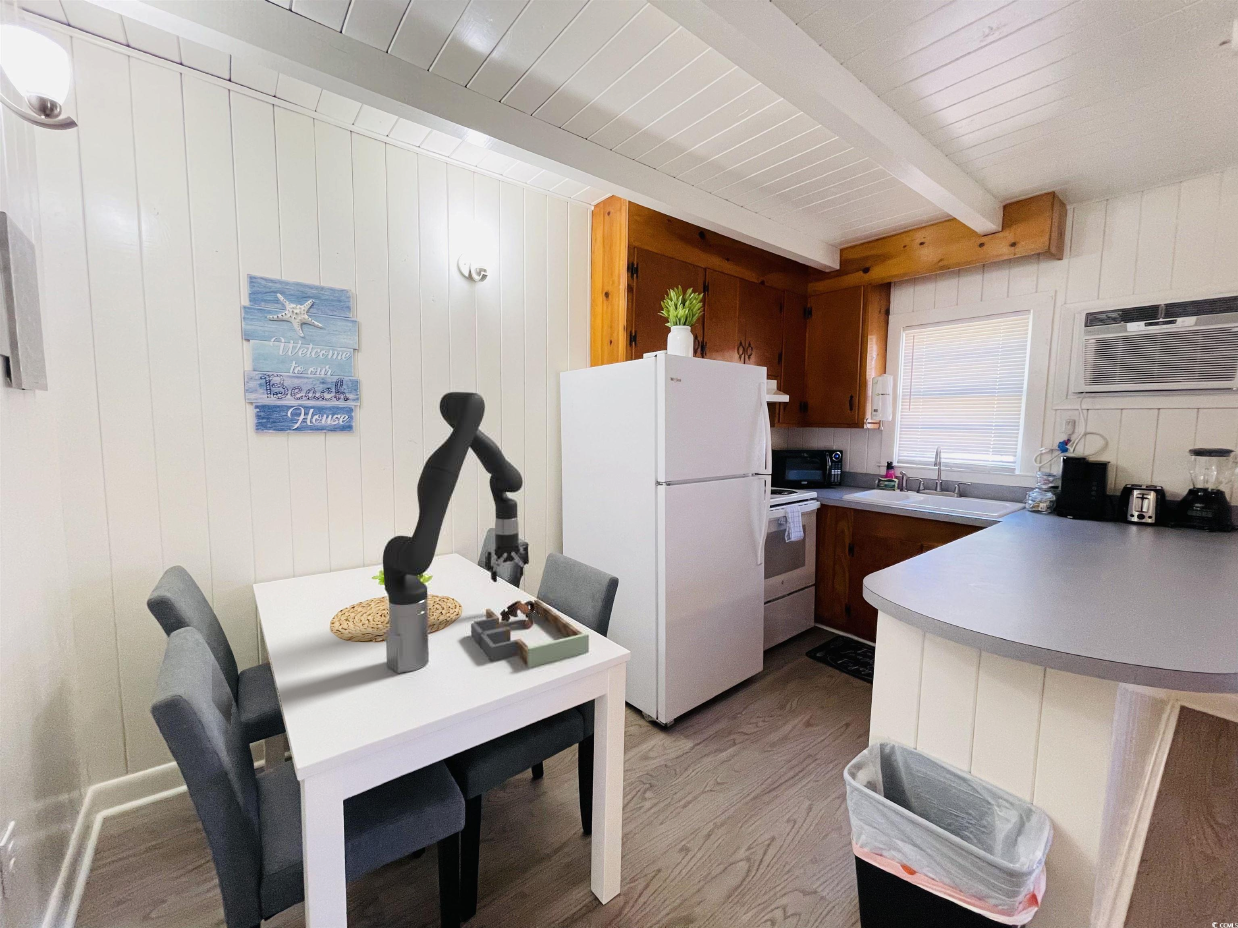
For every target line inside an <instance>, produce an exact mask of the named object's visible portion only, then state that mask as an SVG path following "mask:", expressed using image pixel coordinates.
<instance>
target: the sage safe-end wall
mask: <svg viewBox="0 0 1238 928" xmlns="http://www.w3.org/2000/svg"><path fill="white" fill-rule="evenodd" d="M589 640H590V634H589V633H587V632H585V633H583V634H580V635H576V636H572V637H568V638H566V637H564V638H561V639H556V640H552V641H551V640H550V641H548V642H543V643H539V644H535V645H531V646H528V647H527V665H526V666H527V667H528V669H531V668H534V667H538V666H542V665H544V664H549V663H552V662H557V661H559V660H565V659H569V658H571V657H575V656H579V655H583V654H588V653H589V652H590V651H589V650H590V648H589V646H590V644H589V643H590V641H589ZM568 657H569V658H568Z"/></svg>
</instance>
